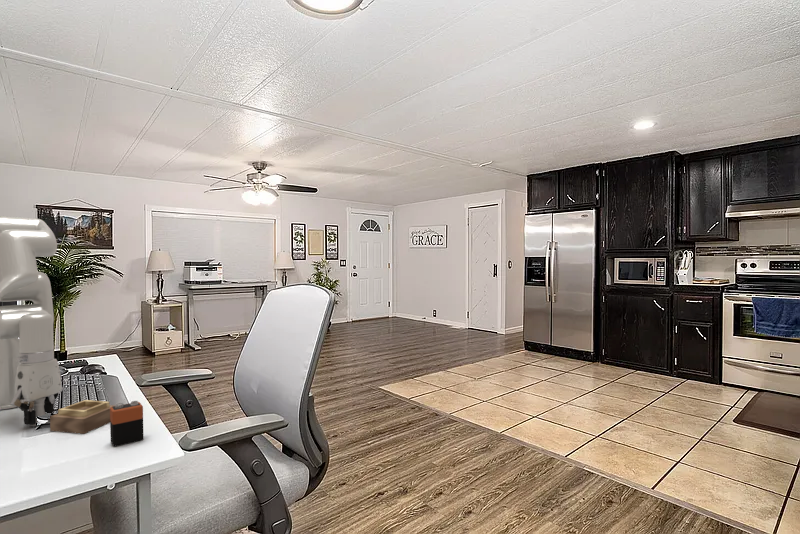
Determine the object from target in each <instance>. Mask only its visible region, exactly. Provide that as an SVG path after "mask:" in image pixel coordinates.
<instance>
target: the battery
mask: <svg viewBox="0 0 800 534" xmlns="http://www.w3.org/2000/svg"><path fill="white" fill-rule="evenodd" d="M113 405H114V406H113V407H111V408H110V423H109V427H110V442H111V445H112V446H113V447H118V446H123V445H128V444H131V443H136V442H140V441H142V440H144V406H143V405H142V403H141V402H139V401H138V400H132V401H131V402H130V403H124V402H117V403H115V404H113Z"/></svg>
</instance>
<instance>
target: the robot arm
mask: <svg viewBox="0 0 800 534" xmlns="http://www.w3.org/2000/svg"><path fill="white" fill-rule="evenodd" d="M57 251H58V242H57V239H56V235H55V233H54V232H53V231H52V229H51V228H50V226H49V225H47V223H46V222H45V221H44V220H42V219H40V218H35V217H21V216H19V217H17V216H4V215H3V216H0V303H1V302H4V303H5V302H22V301H31V302H32V303H30V304H29V303H28V304H27V303H26V304H12V305H0V410H8V409H14V408H18V409H20V411H22V412H23V424H24V425H27V426H30V425H35V424H36V416H35V410H33V407H34V402H35V400H38V399H41V398H44V397H45V398H46V399H45V400H44V403H45V404H44V410H45V412H47V413H52V412H53V413H54V404H56V399H57V398H58V397H59V395H60V394H61V392H63V391H64V387H63V386H62V379H61V378H62V377H61V371H60V370H61V369H60V365H59V362H58V360H57V358H55V345H54V322H55V321H54V320H55V316H54V303H53V295H52V286H51V281H50V278H49V277H48V275H47V274H46V273H44V272H42V271H38V265H37V259H36V258H39V257H41V258H42V257H43V258H44V257H47V258H48V257H49V258H50V257H53V256H54V255H56V253H57Z"/></svg>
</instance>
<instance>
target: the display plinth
mask: <svg viewBox="0 0 800 534" xmlns="http://www.w3.org/2000/svg"><path fill="white" fill-rule="evenodd" d="M113 406H114V404H113V405H112V404H110V401H103V400H91V399H84V400H81V401H79V402H75V403H72V404H70V405H68V406H64V407H62V408H58V409H57V412H58V413H56V414H53V415H52V416H50V419H49V430H50V432H58V433H59V432H60V433H69V434H78V433H80V434H81V435H85V434H88V433H90V432H92V431H94V430H96V429H99V428H101V427H103V426H105V425H108V424H110V408H111V407H113Z"/></svg>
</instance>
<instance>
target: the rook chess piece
mask: <svg viewBox="0 0 800 534" xmlns="http://www.w3.org/2000/svg"><path fill="white" fill-rule="evenodd" d="M45 399H46V398H45V397H44V398H41V399H38V400H35V402H34V407H33V410H35V416H36V417H37V416H42V415H45V414H46V413H45V410H44V404H45V403H44V400H45ZM37 422H38V421H37V418H36V423H37ZM29 426H30V427H37V426H36V424H35V425H29Z"/></svg>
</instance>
